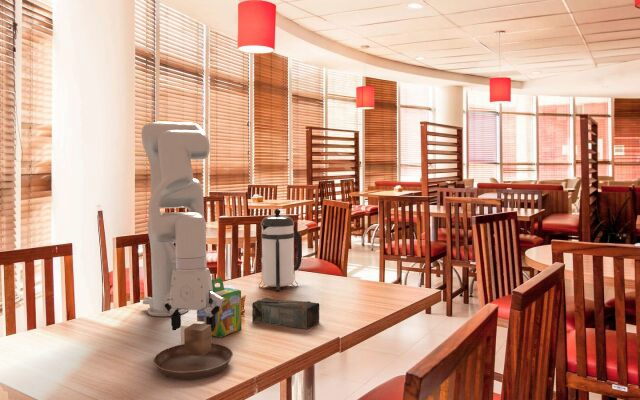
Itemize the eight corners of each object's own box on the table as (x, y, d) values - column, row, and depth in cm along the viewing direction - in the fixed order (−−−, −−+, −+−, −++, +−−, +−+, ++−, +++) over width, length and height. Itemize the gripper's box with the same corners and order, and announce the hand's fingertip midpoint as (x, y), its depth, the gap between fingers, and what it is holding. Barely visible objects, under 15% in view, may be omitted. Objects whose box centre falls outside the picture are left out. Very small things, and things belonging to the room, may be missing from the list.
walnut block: (184, 354, 119) (184, 329, 118) (194, 347, 123) (193, 323, 123) (202, 356, 118) (201, 330, 117) (211, 349, 122) (211, 324, 122)
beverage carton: (265, 315, 160) (265, 294, 160) (321, 323, 152) (320, 301, 152) (251, 322, 153) (251, 300, 153) (308, 331, 145) (308, 307, 144)
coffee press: (299, 291, 189) (298, 210, 187) (256, 292, 189) (255, 210, 187) (301, 281, 206) (301, 206, 204) (262, 281, 206) (261, 207, 205)
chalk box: (220, 338, 138) (219, 284, 137) (195, 333, 143) (194, 280, 142) (243, 329, 146) (242, 277, 145) (219, 324, 151) (218, 274, 150)
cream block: (180, 348, 131) (180, 325, 130) (189, 343, 135) (189, 320, 134) (196, 350, 129) (196, 327, 129) (205, 344, 134) (204, 321, 133)
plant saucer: (245, 372, 116) (245, 359, 116) (166, 391, 106) (166, 377, 106) (216, 349, 131) (216, 337, 131) (145, 364, 121) (144, 351, 121)
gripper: (153, 265, 129) (155, 332, 130) (215, 266, 125) (217, 336, 125) (169, 260, 136) (171, 324, 137) (229, 262, 132) (230, 328, 132)
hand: (193, 330), depth 131 cm, fingers open, 9 cm apart
